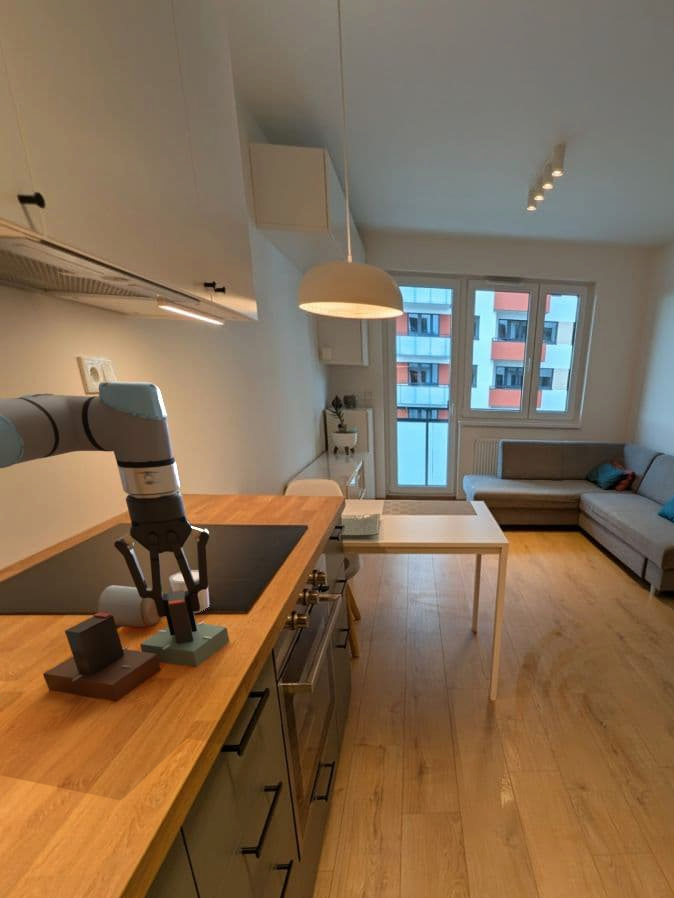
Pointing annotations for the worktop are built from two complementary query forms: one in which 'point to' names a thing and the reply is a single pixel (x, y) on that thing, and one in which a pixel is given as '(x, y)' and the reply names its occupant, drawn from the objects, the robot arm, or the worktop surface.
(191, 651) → the green square base
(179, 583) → the white cylinder
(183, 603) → the dark upright block
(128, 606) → the grey lying cylinder
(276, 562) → the worktop surface
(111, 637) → the red-tabbed dark slab
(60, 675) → the dark brown base plate
